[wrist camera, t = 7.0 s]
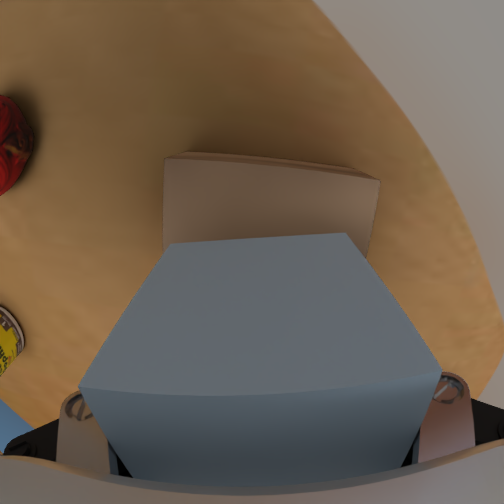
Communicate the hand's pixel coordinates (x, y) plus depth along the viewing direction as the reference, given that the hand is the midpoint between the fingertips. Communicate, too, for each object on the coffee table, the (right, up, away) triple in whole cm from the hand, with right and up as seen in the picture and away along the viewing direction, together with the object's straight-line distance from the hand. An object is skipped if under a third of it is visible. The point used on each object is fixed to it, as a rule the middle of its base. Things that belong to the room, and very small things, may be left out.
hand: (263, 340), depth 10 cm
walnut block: (0, +4, +10) cm, 11 cm away
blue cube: (0, +1, +2) cm, 2 cm away
